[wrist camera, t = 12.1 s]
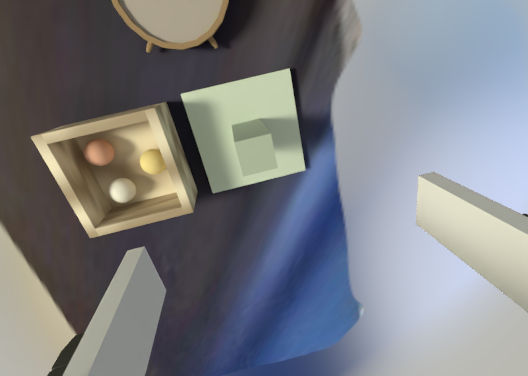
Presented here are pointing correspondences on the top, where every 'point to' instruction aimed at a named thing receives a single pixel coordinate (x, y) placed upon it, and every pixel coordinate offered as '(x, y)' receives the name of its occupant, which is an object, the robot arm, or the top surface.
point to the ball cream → (122, 190)
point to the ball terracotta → (98, 152)
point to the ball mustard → (152, 161)
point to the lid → (246, 130)
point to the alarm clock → (173, 21)
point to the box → (121, 169)
